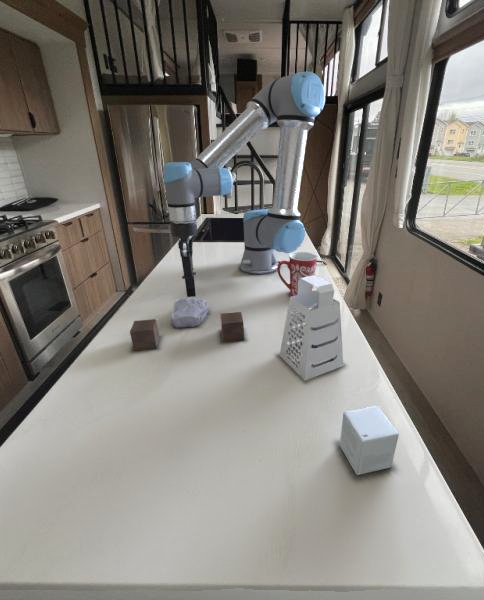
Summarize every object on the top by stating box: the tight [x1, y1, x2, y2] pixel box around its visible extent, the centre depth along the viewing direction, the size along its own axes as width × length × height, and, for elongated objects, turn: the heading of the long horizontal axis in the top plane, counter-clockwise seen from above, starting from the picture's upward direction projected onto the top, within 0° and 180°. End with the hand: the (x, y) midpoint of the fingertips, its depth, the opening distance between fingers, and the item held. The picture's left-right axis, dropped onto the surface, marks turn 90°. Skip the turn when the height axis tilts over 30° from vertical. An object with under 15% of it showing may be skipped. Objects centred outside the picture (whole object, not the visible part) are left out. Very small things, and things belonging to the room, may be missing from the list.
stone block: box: [170, 297, 210, 329], centre depth 94 cm, size 12×5×10 cm
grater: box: [279, 274, 344, 381], centre depth 71 cm, size 10×10×20 cm
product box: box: [339, 405, 400, 476], centre depth 50 cm, size 6×6×7 cm
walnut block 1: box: [129, 318, 160, 352], centre depth 82 cm, size 6×6×6 cm
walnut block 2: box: [220, 311, 245, 343], centre depth 84 cm, size 6×6×6 cm
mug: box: [276, 251, 319, 297], centre depth 105 cm, size 13×9×14 cm
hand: (191, 295), depth 102 cm, fingers closed
